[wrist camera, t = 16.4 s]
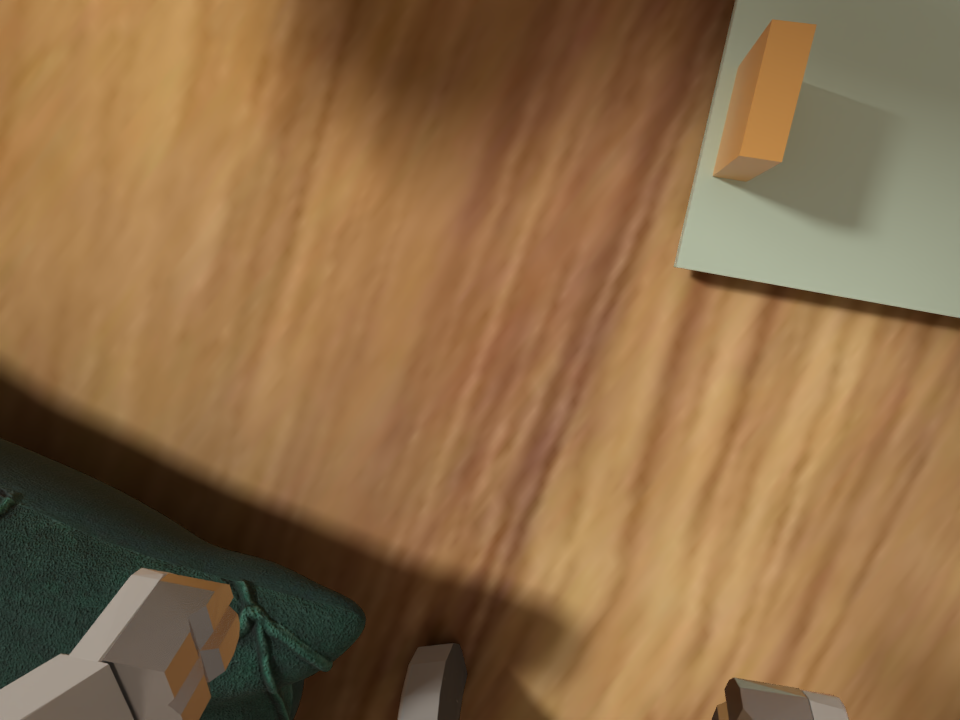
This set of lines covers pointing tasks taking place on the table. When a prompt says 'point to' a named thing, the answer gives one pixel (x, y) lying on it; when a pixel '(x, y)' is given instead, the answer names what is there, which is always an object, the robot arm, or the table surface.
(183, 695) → the robot arm
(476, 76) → the table surface
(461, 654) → the grey mechanical piece
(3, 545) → the pillow
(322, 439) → the table surface
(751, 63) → the lid
